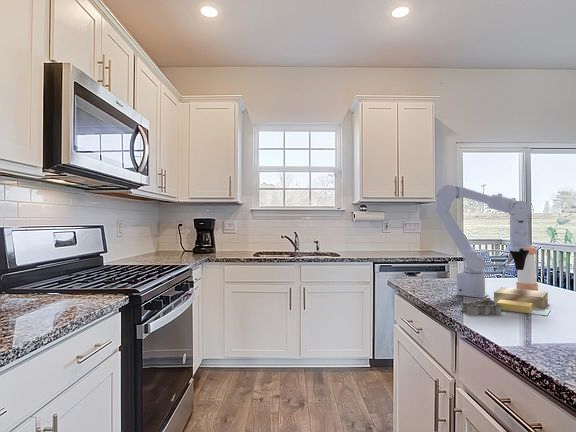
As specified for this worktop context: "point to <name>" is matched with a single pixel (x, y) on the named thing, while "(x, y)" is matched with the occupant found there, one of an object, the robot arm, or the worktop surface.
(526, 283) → the salt shaker
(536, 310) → the mat
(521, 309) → the yellow rectangular block
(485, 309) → the egg carton
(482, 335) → the worktop surface
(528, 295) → the tan flat block
